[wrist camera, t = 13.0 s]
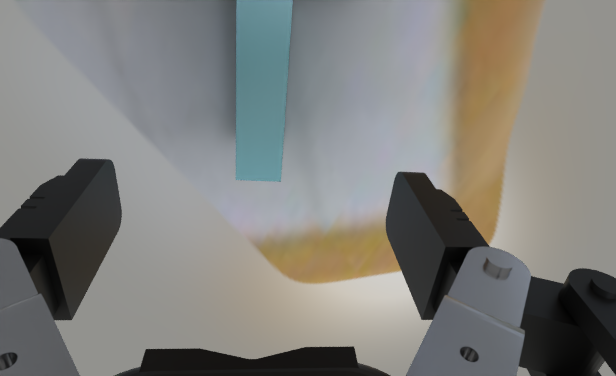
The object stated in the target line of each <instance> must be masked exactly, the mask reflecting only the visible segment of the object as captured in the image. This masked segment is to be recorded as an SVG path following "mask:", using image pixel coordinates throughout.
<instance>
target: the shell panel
mask: <svg viewBox="0 0 616 376" xmlns="http://www.w3.org/2000/svg"><path fill="white" fill-rule="evenodd" d="M292 4H293V0H236V180H252V181H279V182H281V170H282V155H283V140H284V125H285V110H286V95H287V79H288V64H289V49H290V34H291V19H292Z"/></svg>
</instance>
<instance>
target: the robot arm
mask: <svg viewBox="0 0 616 376" xmlns="http://www.w3.org/2000/svg"><path fill="white" fill-rule="evenodd" d="M121 215H122V210H121V203H120V197H119V191H118V185H117V179H116V173H115V168H114V165H113V162H112V161H111V160H107V159H79V160H78V161H77V162H76V163H75V164H74V165H73V166H72V167H71V169H70V170H69V171H68V172H67V173H66V174H65V175H64V176H57V177H55V178H53V179H51V180H49V181H47V182H46V183H44V184H42V185H40V186H39V187H38V188H37V190H36V191H35V192H34V193H33V194H32V195H31V196H30V199H27V200H26V201H25V202H24V203H23V204H22V205H21V209H18V210H17V211H16V212H15V213H14V214H13V215H12V216H11V217H10V218H9V219H8V220H7V221H6V222H5V223H4V224H3V226H2V227H1V228H0V376H80V375H79V373H78V371H77V369H76V366H75V364H74V362H73V360H72V358H71V356H70V354H69V351H68V350H67V347H66V345H65V343H64V341H63V339H62V336H61V334H60V332H59V330H58V328H57V326H56V324H55V322H54V320H72V319H73V317H74V315H75V313H76V311H77V309H78V307H79V305H80V303H81V301H82V299H83V298H84V296H85V294H86V292H87V290H88V288H89V286H90V284H91V282H92V280H93V278H94V277H95V275H96V273H97V271H98V269H99V267H100V265H101V263H102V261H103V259H104V257H105V255H106V254H107V252H108V250H109V248H110V246H111V244H112V242H113V240H114V238H115V236H116V234H117V232H118V230H119V228H120V224H121V217H122V216H121ZM386 232H387V236H388V239H389V241H390V244H391V246H392V249H393V251H394V253H395V256H396V258H397V261H398V263H399V266H400V268H401V270H402V273H403V275H404V278H405V280H406V283H407V285H408V287H409V290H410V292H411V295H412V297H413V300H414V302H415V304H416V307H417V309H418V312H419V314H420V316H421V319H422V320H433V321H432V323H431V325H430V327H429V329H428V331H427V333H426V335H425V337H424V339H423V341H422V343H421V345H420V347H419V350H418V352H417V354H416V356H415V358H414V360H413V362H412V364H411V366H410V368H409V370H408V372H407V374H406V376H516V375H517V371H518V366H520V367H523V368H527V370H528V371H529V373H530V375H531V376H601V375H600V373H599V372H598V370H599V369H600V367H601V366H602V364H603V363H604V361H606V363H607V364H608V365H609V367H610V368H611V369H612V371H613V372H614V373H615V374H616V278H614V277H612V276H610V275H608V274H605V273H602V272H599V271H596V270H591V269H576V270H573V271H571V272H570V273H569V275H568V277H567V279H566V281H565V283H564V284H563V283H558V282H554V281H550V280H545V279H540V278H536V277H532V276H531V274H530V271H529V269H528V268H527V266H526V265H525V264H524V263H523V262H522V261H521V260H519V259H518V258H517V257H515V256H514V255H512V254H510V253H508V252H505V251H503V250H500V249H496V248H492V247H489V245H488V244H487V242H486V241H485V240H484V238H483V237H482V236H481V234H480V233H479V232H478V230H477V229H476V228H475V226H474V225H473V223H472V222H471V221H469V218H468V217H467V215H466V214H465V213H464V212H462V209H461V207H460V206H459V204H458V203H457V202H456V200H455V199H454V198H452V197H451V196H449V195H448V194H447V193H445V192H444V191H442V190H440V189H436V188H435V187H434V185H433V184H432V183H431V181H430V180H429V178H428V177H427V175H426V174H425V173H419V172H398V173H397V175H396V177H395V180H394V185H393V189H392V194H391V198H390V202H389V207H388V211H387V216H386ZM115 376H390V375H388V374H387V373H384V372H382V371H380V370H378V369H376V368H372V367H370V366H367V365H363V364H360V363H357V358H356V354H355V349H354V347H304V348H300V349H296V350H292V351H288V352H284V353H280V354H275V355H272V356H268V357H263V358H259V359H245V358H241V357H236V356H231V355H227V354H222V353H217V352H213V351H208V350H203V349H146V351H145V354H144V357H143V361H142V364H141V367H138V368H134V369H131V370H128V371H125V372H122V373H119V374H117V375H115Z"/></svg>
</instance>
